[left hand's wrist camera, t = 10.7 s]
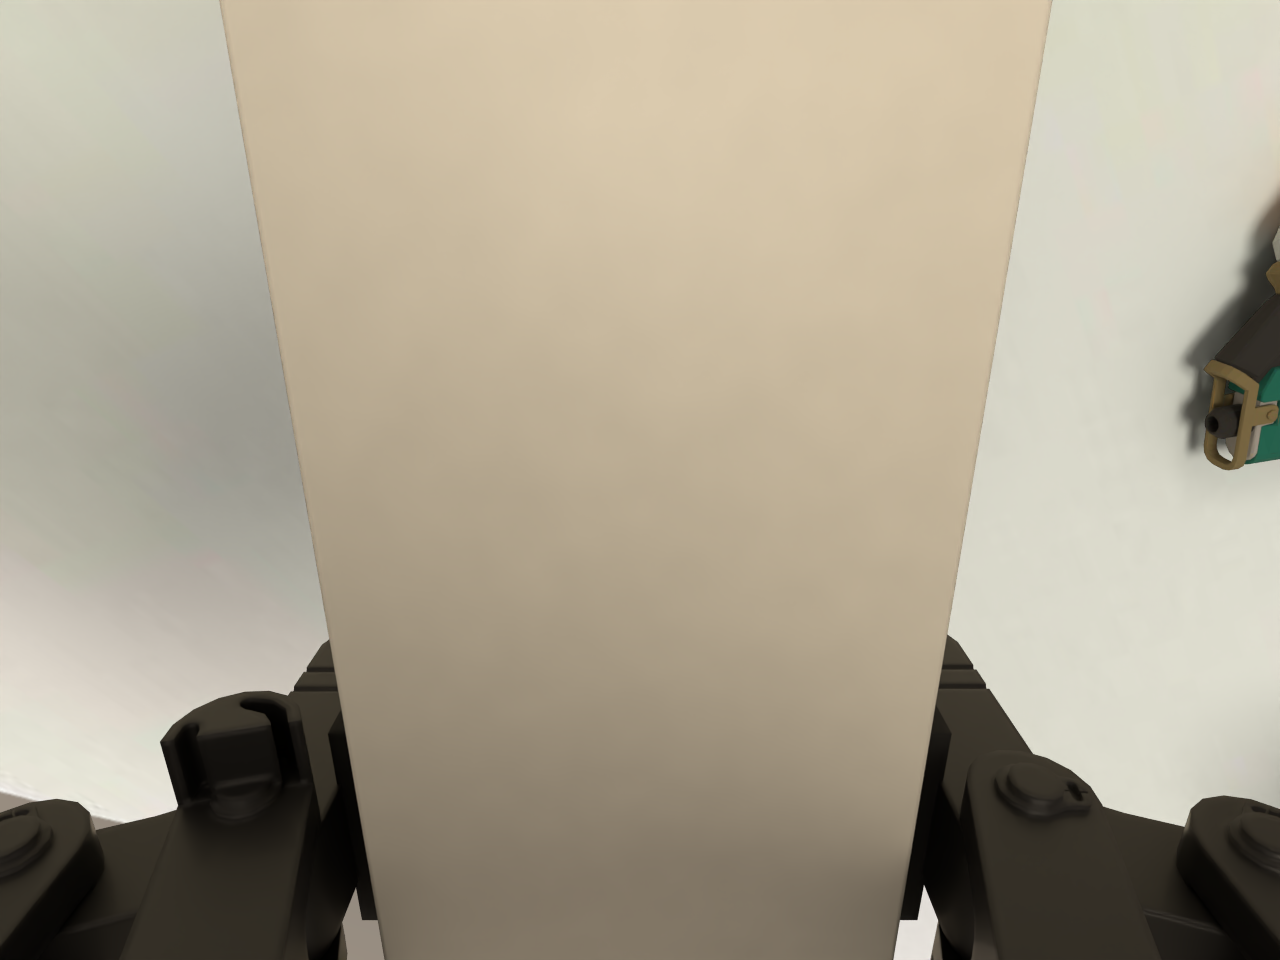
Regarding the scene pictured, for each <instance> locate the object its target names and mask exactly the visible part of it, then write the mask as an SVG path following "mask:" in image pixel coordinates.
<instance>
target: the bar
mask: <svg viewBox="0 0 1280 960" xmlns="http://www.w3.org/2000/svg"><path fill="white" fill-rule="evenodd" d="M219 1H220V7H221V12H222V18H223V24H224V30H225V36H226V41H227V47H228V53H229V59H230V65H231V71H232V76H233V82H234V88H235V94H236V100H237V105H238V111H239V117H240V123H241V129H242V134H243V140H244V146H245V152H246V158H247V163H248V169H249V175H250V181H251V187H252V192H253V198H254V204H255V210H256V216H257V221H258V227H259V233H260V239H261V245H262V251H263V256H264V262H265V268H266V274H267V280H268V285H269V291H270V297H271V303H272V309H273V314H274V320H275V326H276V332H277V338H278V343H279V349H280V355H281V361H282V367H283V372H284V378H285V384H286V390H287V396H288V402H289V407H290V413H291V419H292V425H293V431H294V436H295V442H296V448H297V454H298V460H299V465H300V471H301V477H302V483H303V489H304V494H305V500H306V506H307V512H308V518H309V523H310V529H311V535H312V541H313V547H314V552H315V558H316V564H317V570H318V576H319V582H320V587H321V593H322V599H323V605H324V611H325V616H326V622H327V628H328V634H329V640H330V645H331V651H332V657H333V663H334V669H335V674H336V680H337V686H338V692H339V698H340V703H341V709H342V715H343V721H344V727H345V732H346V738H347V744H348V750H349V756H350V762H351V767H352V773H353V779H354V785H355V791H356V796H357V802H358V808H359V814H360V820H361V825H362V831H363V837H364V843H365V849H366V854H367V860H368V866H369V872H370V878H371V883H372V889H373V895H374V901H375V907H376V913H377V918H378V924H379V930H380V936H381V942H382V947H383V953H384V959H385V960H893V958H894V952H895V946H896V940H897V934H898V928H899V922H900V916H901V910H902V904H903V898H904V892H905V886H906V880H907V874H908V868H909V862H910V856H911V849H912V843H913V837H914V831H915V825H916V819H917V813H918V807H919V801H920V795H921V789H922V783H923V777H924V771H925V765H926V759H927V753H928V747H929V741H930V735H931V729H932V723H933V717H934V711H935V705H936V699H937V693H938V687H939V681H940V675H941V669H942V663H943V657H944V651H945V644H946V638H947V632H948V626H949V620H950V614H951V608H952V602H953V596H954V590H955V584H956V578H957V572H958V566H959V560H960V554H961V548H962V542H963V536H964V530H965V524H966V518H967V512H968V506H969V500H970V494H971V488H972V482H973V476H974V470H975V464H976V458H977V452H978V446H979V439H980V433H981V427H982V421H983V415H984V409H985V403H986V397H987V391H988V385H989V379H990V373H991V367H992V361H993V355H994V349H995V343H996V337H997V331H998V325H999V319H1000V313H1001V307H1002V301H1003V295H1004V289H1005V283H1006V277H1007V271H1008V265H1009V259H1010V253H1011V247H1012V241H1013V235H1014V228H1015V222H1016V216H1017V210H1018V204H1019V198H1020V192H1021V186H1022V180H1023V174H1024V168H1025V162H1026V156H1027V150H1028V144H1029V138H1030V132H1031V126H1032V120H1033V114H1034V108H1035V102H1036V96H1037V90H1038V84H1039V78H1040V72H1041V66H1042V60H1043V54H1044V48H1045V42H1046V36H1047V30H1048V23H1049V17H1050V11H1051V5H1052V0H219Z"/></svg>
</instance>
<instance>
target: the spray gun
mask: <svg viewBox="0 0 1280 960" xmlns="http://www.w3.org/2000/svg"><path fill="white" fill-rule="evenodd" d="M1272 244H1273V248H1274V252H1275V256H1276V260H1277V262H1276V263H1274V264H1272V266H1271V267H1270V268H1269V270H1268V271H1267V272H1266V277H1267V279H1268V280H1269V282H1270V283H1271V284H1272V286H1273V287H1274V289H1275V292H1276V294H1275V295H1274V296H1272V297H1271V298H1270V299H1269V300H1267V301H1266V302H1265V303H1264V304H1263V305H1262V306H1261V307H1260V308H1259V309H1258V311H1257V312H1256V313H1255V314H1254V315H1253V316H1252V317H1251V318H1250V319H1249V320H1248V321H1247V323H1246V324H1245V325H1244V326H1243V327H1242V328H1241V329H1240V330H1239V331H1238V332H1237V333H1236V334H1235V336H1234V337H1233V338H1232V339H1231V340H1230V341H1229V342H1228V343H1227V344H1226V345H1225V346H1224V348H1223V349H1222V350H1221V351H1220V352H1219V353H1218V354H1217V355H1216V356H1215V360H1216V361H1215V360H1211V361H1210V362H1209V363H1208V365H1207V366H1206V367H1205V368H1204V371H1206V372H1207V373H1208V374H1209V375H1211V376H1212V377H1214V382H1213V389H1212V395H1211V402H1210V408H1209V414H1208V415H1207V417H1206V419H1205V427H1206V434H1205V440H1204V453H1205V455H1206V457H1207V459H1208V460H1209V461H1210V462H1211V463H1212V464H1214V465H1216V466H1218V467H1219V468H1221V469H1224V470H1234V469H1239V468H1240V467H1242V466H1244V464H1252V463H1258V462H1264V461H1270V460H1276V459H1280V227H1279V229H1278V231H1277V233H1276V236H1275V238H1274V240H1273V243H1272ZM1226 379H1227V380H1229V381H1230V382H1229V386H1228V388H1229V389H1231V390H1233V391H1235V393H1231V394H1225V395H1224V392H1225V386H1226ZM1217 438H1223V439H1224V438H1226V445H1227V448H1228V450H1229V452H1230V453H1231V454H1232V456H1233V459H1232V462H1231V461H1229V460H1227V459H1225V458H1223V457H1222V456H1221V455H1220V454H1219V453H1218V451H1217Z"/></svg>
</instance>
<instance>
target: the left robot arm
mask: <svg viewBox="0 0 1280 960" xmlns="http://www.w3.org/2000/svg"><path fill="white" fill-rule="evenodd" d="M160 744H161V747H162V751H163V754H164V758H165V761H166V765H167V768H168V772H169V775H170V779H171V782H172V786H173V789H174V793H175V796H176V800H177V803H178V807H177V810H175V811H171V812H168V813H165V814H161V815H158V816H155V817H150V818H146V819H142V820H137V821H133V822H129V823H125V824H120V825H116V826H112V827H108V828H103V829H99V830H95V827H94V824H93V821H92V818H91V815H90V812H89V811H87V810H86V809H85V808H84V807H83V806H82V805H80V804H79V803H78V802H73V801H67V800H61V799H52V800H45V801H38V802H31V803H27V804H24V805H21V806H18V807H16V808H13V809H10V810H7V811H4V812H1V813H0V960H347V948H346V941H345V934H344V929H343V925H342V921H343V918H344V916H345V913H346V911H347V908H348V906H349V903H350V901H351V898H352V896H353V893H354V891H355V888H356V890H357V895H358V900H359V906H360V911H361V917H362V920H378V918H377V913H376V907H375V901H374V895H373V889H372V883H371V878H370V872H369V866H368V860H367V854H366V849H365V843H364V837H363V831H362V825H361V820H360V814H359V808H358V802H357V796H356V791H355V785H354V779H353V773H352V767H351V762H350V756H349V750H348V744H347V738H346V732H345V727H344V721H343V715H342V709H341V703H340V698H339V692H338V686H337V680H336V674H335V669H334V663H333V657H332V651H331V645H330V640H328V641H327V642H325V643H324V644H322V646H321V647H320V649H319V650H318V652H317V653H316V655H315V656H314V658H313V659H312V661H311V662H310V664H309V665H308V667H307V672H304V673H303V674H302V676H301V677H300V678H299V680H298V681H297V683H296V684H295V686H294V691H293V692H290V693H289V695H288V696H287V695H283V694H279V693H275V692H271V691H253V692H242V693H238V694H234V695H230V696H226V697H222V698H218V699H216V700H214V701H212V702H209V703H207V704H205V705H203V706H201V707H198V708H196V709H194V710H192V711H191V712H190V713H188V714H187V715H186V716H184V717H183V718H182V719H180V720H179V721H177V722H176V723H175V724H173V725H172V727H171V728H170V729H169V731H168V732H167V733H166V735H165V736H164V737H163V739H162V740H161V741H160ZM924 886H925V888H926V891H927V893H928V896H929V898H930V901H931V903H932V906H933V908H934V911H935V913H936V916H937V918H938V924H937V929H936V934H935V939H934V945H933V950H932V955H931V960H1280V809H1278V808H1275V807H1272V806H1270V805H1266V804H1263V803H1260V802H1258V801H1255V800H1252V799H1245V798H1238V797H1231V796H1218V797H1211V798H1205V799H1202V800H1201V801H1200V802H1198V803H1197V804H1196V805H1195V806H1194V807H1193V808H1191V810H1190V813H1189V816H1188V819H1187V822H1186V825H1185V827H1182V826H1178V825H1174V824H1169V823H1165V822H1161V821H1156V820H1152V819H1148V818H1143V817H1139V816H1135V815H1130V814H1126V813H1122V812H1119V811H1116V810H1113V809H1109V808H1106V807H1103V806H1102V804H1101V802H1100V801H1099V799H1098V798H1097V796H1096V795H1095V793H1094V791H1093V790H1092V788H1091V787H1090V786H1089V785H1088V784H1087V783H1085V782H1084V781H1083V780H1082V779H1081V778H1079V777H1078V776H1077V775H1076V774H1075V773H1073V772H1072V771H1071V770H1069V769H1067V768H1065V767H1064V766H1062V765H1060V764H1058V763H1056V762H1054V761H1052V760H1050V759H1048V758H1045V757H1042V756H1038V755H1034V754H1033V753H1032V752H1031V750H1030V749H1029V747H1028V746H1027V744H1026V743H1025V741H1024V740H1023V738H1022V737H1021V735H1020V734H1019V732H1018V731H1017V729H1016V728H1015V726H1014V725H1013V723H1012V722H1011V720H1010V719H1009V718H1008V716H1007V715H1006V713H1005V712H1004V710H1003V709H1002V707H1001V706H1000V704H999V703H998V701H997V700H996V698H995V697H994V695H993V694H992V692H991V691H990V689H986V683H985V682H984V680H983V679H982V677H981V676H980V674H979V673H978V671H977V670H974V669H973V664H972V662H971V661H970V660H969V658H968V657H967V655H966V654H965V652H964V651H963V649H962V648H961V646H960V645H959V643H958V642H957V641H955V640H954V639H953V638H951V637H950V636H949V635H947V638H946V644H945V651H944V657H943V663H942V669H941V675H940V681H939V687H938V693H937V699H936V705H935V711H934V717H933V723H932V729H931V735H930V741H929V747H928V753H927V759H926V765H925V771H924V777H923V783H922V789H921V795H920V801H919V807H918V813H917V819H916V825H915V831H914V837H913V843H912V849H911V856H910V862H909V868H908V874H907V880H906V886H905V892H904V898H903V904H902V910H901V916H900V920H917V919H918V914H919V908H920V903H921V898H922V892H923V887H924Z"/></svg>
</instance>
